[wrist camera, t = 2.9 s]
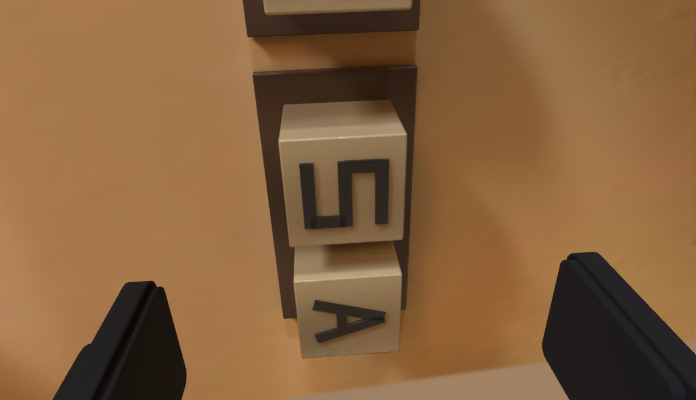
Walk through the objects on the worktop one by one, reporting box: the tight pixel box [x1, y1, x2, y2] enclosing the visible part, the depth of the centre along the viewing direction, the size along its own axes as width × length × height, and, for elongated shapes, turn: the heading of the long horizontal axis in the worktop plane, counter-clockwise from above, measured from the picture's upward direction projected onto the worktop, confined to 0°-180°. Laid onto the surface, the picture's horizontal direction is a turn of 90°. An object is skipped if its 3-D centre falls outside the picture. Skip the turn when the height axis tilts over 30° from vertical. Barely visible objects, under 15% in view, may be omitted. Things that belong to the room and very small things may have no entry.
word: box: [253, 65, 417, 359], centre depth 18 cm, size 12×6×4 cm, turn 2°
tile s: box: [278, 100, 407, 247], centre depth 17 cm, size 4×4×4 cm
